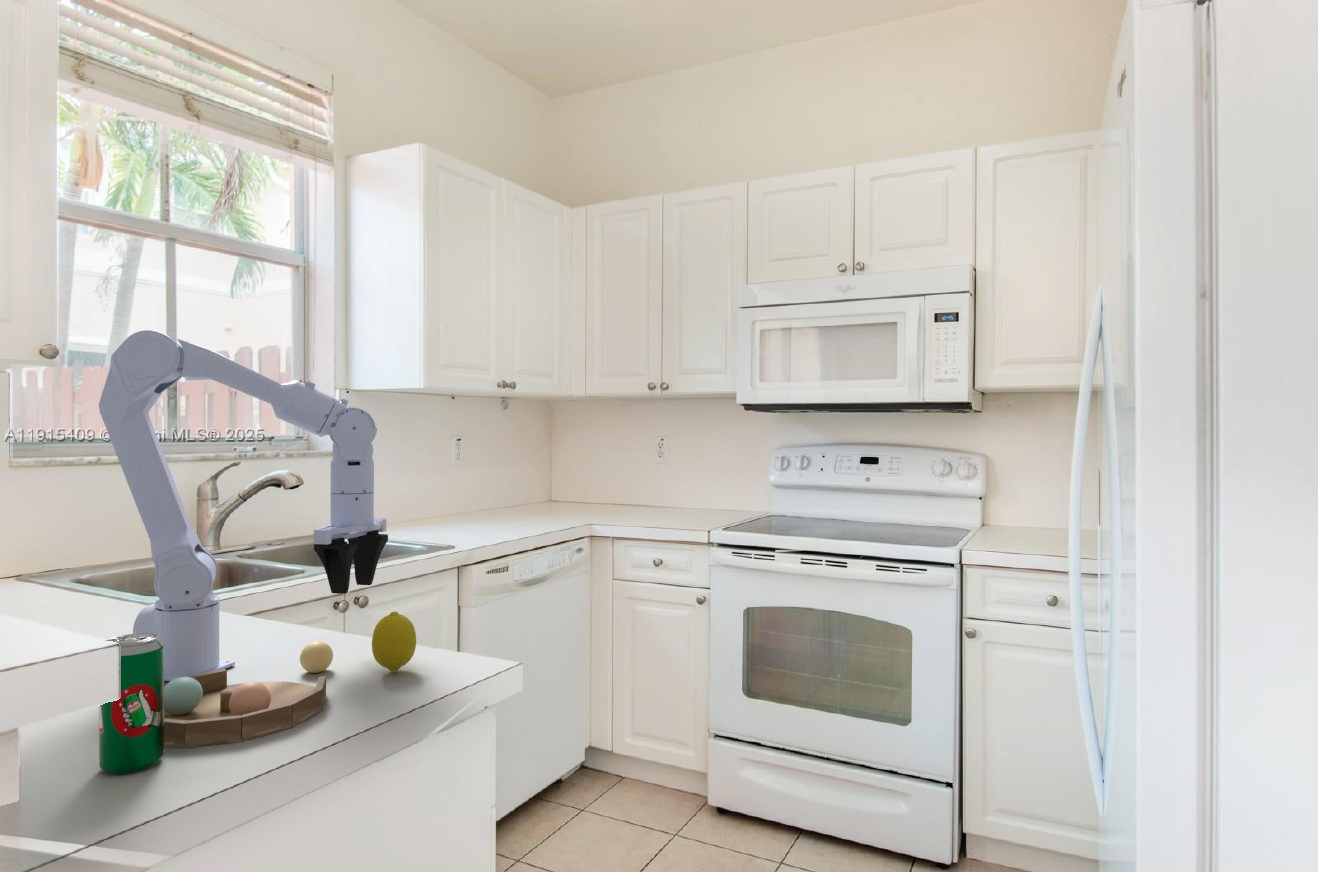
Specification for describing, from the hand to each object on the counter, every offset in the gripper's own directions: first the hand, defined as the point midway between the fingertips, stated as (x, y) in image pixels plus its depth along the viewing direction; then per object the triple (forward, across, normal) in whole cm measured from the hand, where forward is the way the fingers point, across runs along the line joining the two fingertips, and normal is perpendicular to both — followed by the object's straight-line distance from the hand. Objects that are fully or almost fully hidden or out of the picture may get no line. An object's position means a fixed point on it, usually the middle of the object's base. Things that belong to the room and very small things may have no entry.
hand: (352, 588), depth 109 cm
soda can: (+10, -37, -1) cm, 38 cm away
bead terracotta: (+9, -26, -4) cm, 27 cm away
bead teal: (+9, -26, +4) cm, 27 cm away
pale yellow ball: (+9, -8, 0) cm, 12 cm away
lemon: (+10, -6, -10) cm, 15 cm away
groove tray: (+9, -23, 0) cm, 25 cm away
